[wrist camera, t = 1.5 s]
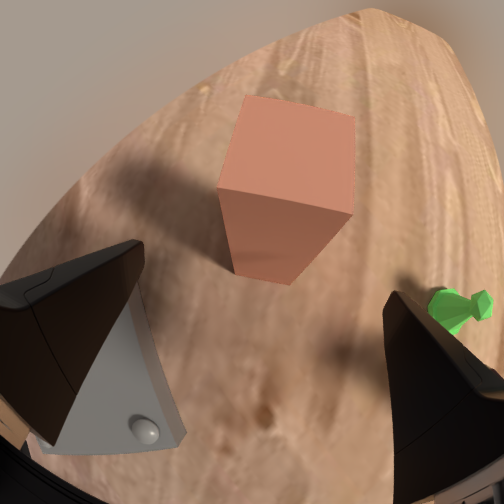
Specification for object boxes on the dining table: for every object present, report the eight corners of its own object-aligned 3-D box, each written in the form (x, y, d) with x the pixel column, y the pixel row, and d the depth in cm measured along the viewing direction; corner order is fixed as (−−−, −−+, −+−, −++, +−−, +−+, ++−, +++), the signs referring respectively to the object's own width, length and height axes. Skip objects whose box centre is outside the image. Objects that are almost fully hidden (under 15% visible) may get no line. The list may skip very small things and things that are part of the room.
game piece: (419, 303, 20) (465, 291, 14) (450, 280, 21) (494, 264, 15) (436, 346, 19) (483, 346, 13) (465, 321, 19) (511, 314, 14)
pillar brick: (289, 285, 20) (353, 214, 8) (235, 274, 20) (216, 187, 8) (298, 233, 21) (354, 116, 9) (246, 223, 22) (245, 94, 9)
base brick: (186, 432, 17) (176, 450, 14) (61, 444, 16) (39, 455, 12) (135, 269, 20) (115, 258, 17) (22, 309, 19) (-2, 304, 16)
